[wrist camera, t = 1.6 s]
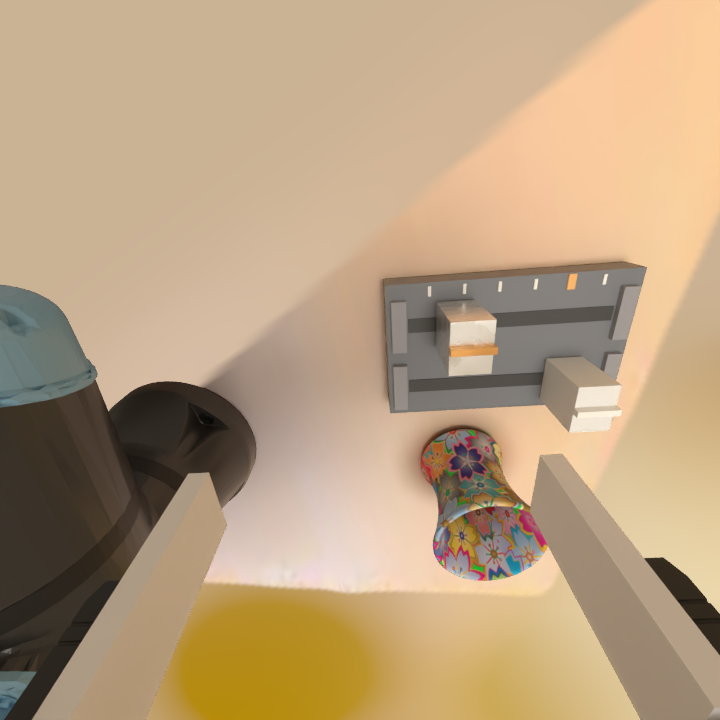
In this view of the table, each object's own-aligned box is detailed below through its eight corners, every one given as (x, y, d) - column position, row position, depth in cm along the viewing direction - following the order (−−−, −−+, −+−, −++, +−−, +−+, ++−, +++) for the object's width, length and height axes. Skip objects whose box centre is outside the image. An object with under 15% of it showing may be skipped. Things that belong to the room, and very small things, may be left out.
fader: (434, 348, 29) (449, 380, 24) (435, 302, 27) (451, 325, 22) (472, 346, 29) (494, 377, 24) (475, 299, 27) (500, 322, 22)
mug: (400, 446, 37) (412, 532, 27) (479, 406, 35) (523, 485, 25) (451, 513, 41) (477, 609, 32) (525, 482, 39) (577, 575, 29)
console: (388, 399, 34) (395, 454, 27) (383, 278, 29) (389, 306, 22) (593, 387, 34) (659, 441, 26) (624, 261, 28) (716, 284, 21)
